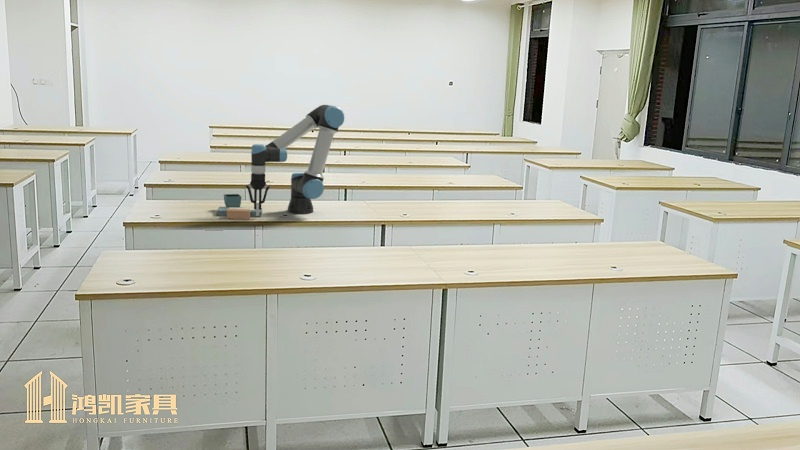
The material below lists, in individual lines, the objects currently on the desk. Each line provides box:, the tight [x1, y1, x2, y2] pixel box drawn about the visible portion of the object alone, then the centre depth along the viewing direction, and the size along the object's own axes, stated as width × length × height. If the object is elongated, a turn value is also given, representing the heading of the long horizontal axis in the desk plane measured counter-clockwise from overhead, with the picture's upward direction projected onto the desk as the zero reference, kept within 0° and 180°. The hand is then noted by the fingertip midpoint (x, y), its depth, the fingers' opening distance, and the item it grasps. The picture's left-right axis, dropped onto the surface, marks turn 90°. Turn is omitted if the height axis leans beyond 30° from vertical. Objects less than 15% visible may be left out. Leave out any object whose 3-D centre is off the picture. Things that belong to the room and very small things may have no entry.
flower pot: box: [223, 193, 243, 207], centre depth 390 cm, size 9×9×9 cm
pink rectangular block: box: [226, 208, 251, 220], centre depth 372 cm, size 12×6×5 cm, turn 98°
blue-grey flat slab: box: [216, 206, 263, 218], centre depth 381 cm, size 24×11×3 cm, turn 98°
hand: (257, 215), depth 372 cm, fingers closed
